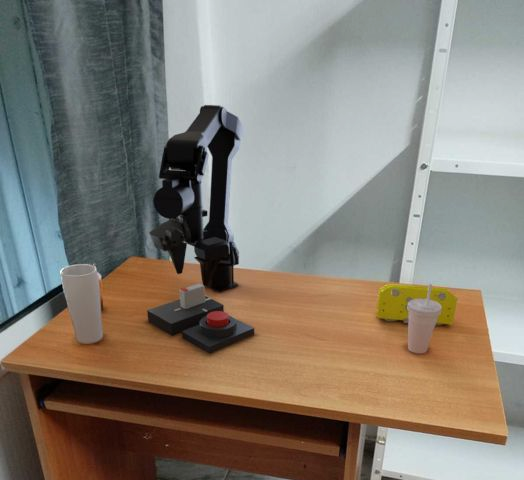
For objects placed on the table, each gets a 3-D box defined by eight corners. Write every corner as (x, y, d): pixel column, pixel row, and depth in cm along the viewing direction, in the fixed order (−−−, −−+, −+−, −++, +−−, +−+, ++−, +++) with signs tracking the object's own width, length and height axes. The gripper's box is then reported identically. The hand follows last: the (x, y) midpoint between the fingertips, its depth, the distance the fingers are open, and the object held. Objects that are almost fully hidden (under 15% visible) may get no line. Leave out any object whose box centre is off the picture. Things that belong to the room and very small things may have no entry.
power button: (219, 316, 112) (219, 309, 111) (233, 323, 110) (233, 315, 109) (202, 322, 110) (202, 315, 109) (216, 330, 107) (216, 322, 106)
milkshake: (110, 305, 124) (104, 264, 119) (102, 315, 120) (95, 272, 115) (91, 304, 125) (84, 263, 120) (82, 314, 120) (75, 272, 115)
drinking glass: (113, 335, 111) (104, 266, 104) (91, 349, 106) (80, 278, 98) (88, 329, 114) (77, 261, 106) (65, 342, 108) (52, 272, 101)
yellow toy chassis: (376, 322, 118) (380, 286, 114) (376, 311, 123) (380, 277, 119) (451, 328, 115) (459, 293, 111) (448, 317, 120) (455, 282, 116)
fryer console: (198, 304, 125) (197, 291, 124) (225, 317, 119) (224, 304, 118) (147, 322, 117) (145, 308, 115) (173, 337, 111) (172, 323, 109)
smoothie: (415, 359, 104) (427, 292, 97) (394, 345, 109) (403, 280, 102) (440, 352, 106) (453, 286, 99) (418, 338, 111) (429, 275, 104)
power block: (226, 321, 118) (226, 306, 116) (254, 335, 112) (254, 320, 110) (182, 338, 110) (180, 323, 109) (209, 354, 105) (208, 338, 103)
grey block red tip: (200, 299, 120) (199, 282, 118) (205, 302, 119) (204, 284, 117) (180, 306, 117) (179, 288, 115) (185, 309, 116) (184, 291, 113)
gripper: (128, 203, 108) (136, 276, 115) (183, 222, 96) (188, 302, 103) (173, 195, 114) (178, 264, 122) (230, 212, 103) (231, 288, 110)
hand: (192, 279), depth 114 cm, fingers open, 9 cm apart
